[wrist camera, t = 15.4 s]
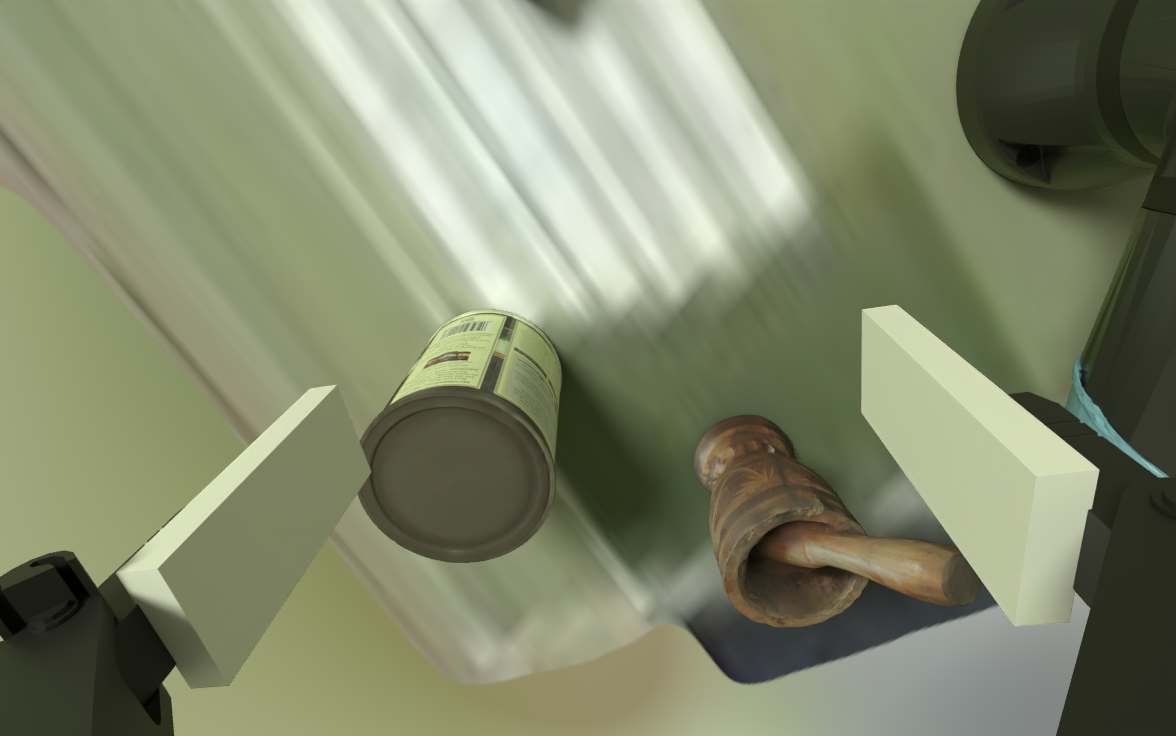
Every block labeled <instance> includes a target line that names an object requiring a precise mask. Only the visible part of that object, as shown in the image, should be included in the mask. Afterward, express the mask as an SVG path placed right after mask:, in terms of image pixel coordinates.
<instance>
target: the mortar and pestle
mask: <svg viewBox="0 0 1176 736" xmlns="http://www.w3.org/2000/svg"><path fill="white" fill-rule="evenodd" d="M694 469H695V472H696V474H697V477H698V479H699V482H700V483H701V485H702V486H703V487H704V488H705V489H706V490H707V491H708V492H709V493H710V494H711V502H710V507H709V519H708V520H709V530H710V536H711V541H712V545H713V549H714V553H715V556H716V559H717V562H718V566H719V570H720V573H721V576H722V580H723V586H724V590H725V592H726V593H727V595H728V598H729V600H730V601H731V602H732V603H733V605H734V606H735V607H736V609H737V610H738V611H740V612H741V613H742V614H743V615H745V616H746V617H748V618H750V619H752V620H753V621H755V622H758V623H766V624H769V625H771V626H773V627H803V626H809V625H812V624H816V623H820V622H823V621H825V620H827V619H829V618H830V617H832V616H834V615H836V614H839V613H841V612H843V611H844V610H845V609H846V608H847V607H849V606H850V605H851V604H852V603H853V602H854V600H855V599H856V598H858V597H859V596H860V595H861V593H862V590H863V589H864V587H865V586H866V585H867V584H868V580H869V579H871V580H873V581H875V582H877V583H880V584H882V585H884V586H886V587H889V588H891V589H893V590H896V591H898V592H900V593H903V594H905V595H908V596H911V597H913V598H916V599H919V600H922V601H926V602H929V603H933V604H938V605H942V606H955V605H958V606H965V605H968V604H970V603H972V602H973V601H974V600H975V598H976V597H977V595H978V593H979V590H980V582H981V579H980V578H979V577H978V575H977V574H976V572H975V571H974V570H973V568H972V567H971V565H970V564H969V562H968V561H967V560H966V558H965V557H964V555H963V554H962V553H961V551H960V550H959V548H956V547H953V546H950V545H945V544H939V543H935V542H930V541H924V540H918V539H909V538H888V537H872V536H867V535H866V533H865V531H864V530H863V529H862V527H861V526H860V525H859V523H858V522H857V521H856V519H855V518H854V517H853V516H852V514H851V513H850V512H849V511H848V509H847V508H846V507H845V505H844V504H843V502H842V501H841V499H840V498H839V496H838V495H837V493H836V492H835V491H834V490H833V489H832V488H831V487H830V486H829V485H828V484H827V483H826V482H825V481H824V480H823V479H822V478H821V477H820V476H819V475H818V474H816V473H815V472H814V471H812V470H811V469H810V468H808V467H806V466H805V465H803V464H801V463H799V462H797V461H796V460H795V459H793V449H792V446H791V443H790V441H789V439H788V438H787V436H786V435H785V434H784V433H783V432H782V431H781V430H780V429H779V427H778V426H777V425H775V424H774V423H773V422H771V421H769V420H767V419H766V418H763V417H761V416H757V415H741V416H735V417H732V418H729V419H726V420H723V421H721V422H719V423H717V424H715V425H714V426H712V427H711V428H710V429H709V430H708V431H707V432H706V433H705V434H704V435H703V437H702V438H701V440H700V442H699V444H698V446H697V449H696V452H695V456H694Z"/></svg>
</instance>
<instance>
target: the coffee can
mask: <svg viewBox="0 0 1176 736" xmlns="http://www.w3.org/2000/svg"><path fill="white" fill-rule="evenodd" d="M561 386H562V370H561V365H560V361H559V358H558V355H557V353H556V351H555V349H554V347H553V345H552V343H551V342H550V341H549V339H548V338H547V337H546V335H545V334H544V333H543V332H542V331H541V330H540V329H538V328H537V327H536V326H535V325H534V324H532V323H531V322H529V321H528V320H526V319H524V318H522V317H520V316H518V315H515V314H513V313H509V312H506V311H501V310H495V309H487V310H476V311H471V312H467V313H464V314H461V315H459V316H457V317H455V318H453V319H451V320H449V321H448V322H446V323H445V324H444V325H442V326H441V327H440V328H439V329H438V330H437V331H436V332H435V333H434V335H433V336H432V337H431V339H430V341H429V342H428V344H427V346H426V348H425V350H424V351H423V352H422V354H421V356H420V357H419V358H418V360H417V361H416V363H415V364H414V366H413V367H412V369H411V370H410V372H409V373H408V375H407V376H406V378H405V379H404V381H403V382H402V383H401V385H400V386H399V388H398V389H397V390H396V392H395V394H394V395H393V396H392V398H391V399H390V401H389V402H388V404H387V405H386V407H385V408H384V410H383V411H382V412H381V413H380V414H379V415H378V416H377V417H376V418H375V419H374V420H373V421H372V423H371V424H370V425H369V426H368V428H367V429H366V431H365V432H364V434H363V436H362V438H361V440H360V441H359V442H360V444H361V447H362V449H363V452H364V454H365V457H366V459H367V462H368V465H369V467H370V470H371V474H370V475H369V477H368V478H367V480H366V481H365V483H364V484H363V486H362V487H361V489H360V490H359V492H358V493H357V494H358V496H359V499H360V502H361V504H362V506H363V508H364V509H365V511H366V513H367V515H368V516H369V517H370V519H371V520H372V521H373V523H374V524H375V525H376V526H377V527H378V528H379V529H380V530H381V531H382V532H383V533H384V534H385V535H387V536H388V537H389V538H390V539H391V540H393V541H395V542H396V543H397V544H399V545H400V546H402V547H404V548H405V549H407V550H409V551H411V552H414V553H416V554H418V555H421V556H424V557H427V558H430V559H435V560H440V561H445V562H452V563H469V562H480V561H486V560H490V559H494V558H497V557H500V556H502V555H505V554H507V553H509V552H511V551H513V550H515V549H516V548H518V547H520V546H521V545H523V544H524V543H525V542H527V541H528V540H529V539H530V538H531V537H532V536H533V535H534V534H535V533H536V532H537V531H538V530H539V529H540V527H541V526H542V525H543V523H544V521H545V520H546V518H547V516H548V514H549V512H550V509H551V507H552V504H553V501H554V496H555V485H556V474H555V467H554V466H555V452H556V437H557V425H558V411H559V397H560V391H561Z"/></svg>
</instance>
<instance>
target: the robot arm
mask: <svg viewBox="0 0 1176 736" xmlns="http://www.w3.org/2000/svg"><path fill="white" fill-rule="evenodd" d="M956 94H957V105H958V111H959V116H960V120H961V123H962V126H963V129H964V132H965V134H966V136H967V139H968V140H969V142H970V144H971V146H972V147H973V149H974V150H975V152H976V153H977V154H978V156H979V157H980V158H981V159H982V160H983V161H984V162H985V163H986V164H987V165H988V166H989V167H990V168H992V169H993V170H994V171H996V172H997V173H999V174H1000V175H1002V176H1004V177H1006V178H1008V179H1010V180H1012V181H1015V182H1018V183H1021V184H1025V185H1029V186H1035V187H1042V188H1049V189H1056V190H1085V189H1094V188H1100V187H1105V186H1109V185H1113V184H1116V183H1120V182H1124V181H1128V180H1131V179H1135V178H1139V177H1143V176H1146V175H1150V174H1154V173H1155V175H1154V177H1153V180H1152V182H1151V185H1150V188H1149V190H1148V193H1147V195H1146V198H1145V200H1144V203H1143V205H1142V206H1141V209H1140V211H1139V214H1138V216H1137V219H1136V222H1135V224H1134V227H1133V229H1132V232H1131V234H1130V237H1129V240H1128V242H1127V245H1126V247H1125V250H1124V252H1123V255H1122V258H1121V260H1120V263H1119V265H1118V268H1117V270H1116V273H1115V275H1114V278H1113V280H1112V283H1111V285H1110V287H1109V290H1108V292H1107V295H1106V297H1105V300H1104V302H1103V305H1102V307H1101V309H1100V312H1099V314H1098V317H1097V319H1096V322H1095V324H1094V327H1093V329H1092V331H1091V334H1090V336H1089V339H1088V341H1087V344H1086V346H1085V349H1084V351H1083V352H1082V353H1081V355H1080V356H1079V357H1078V358H1077V359H1076V361H1075V363H1074V366H1073V370H1072V380H1073V385H1072V388H1071V391H1070V394H1069V397H1068V400H1067V404H1066V407H1065V408H1064V407H1062V406H1061V405H1060V404H1058V403H1055V402H1053V401H1050V400H1048V399H1045V398H1043V397H1040V396H1037V395H1035V394H1032V393H1030V392H1024V393H1016V394H1006V393H1005V392H1003V391H1002V390H1001V389H1000V388H998V387H997V386H996V385H995V384H994V383H992V382H991V381H990V380H989V379H987V378H986V377H985V376H984V375H982V374H981V373H980V372H979V371H978V370H976V369H975V368H974V367H973V366H971V365H970V364H969V363H968V362H966V361H965V360H964V359H963V358H962V357H960V356H959V355H958V354H957V353H955V352H954V351H953V350H952V349H951V348H949V347H948V346H947V345H946V344H944V343H943V342H942V341H941V340H939V339H938V338H937V337H936V336H935V335H933V334H932V333H931V332H930V331H928V330H927V329H926V328H925V327H923V326H922V325H921V324H920V323H919V322H917V321H916V320H915V319H914V318H912V317H911V316H910V315H909V314H908V313H906V312H905V311H904V310H903V309H901V308H900V307H899V306H898V305H891V306H884V307H877V308H870V309H863V310H862V399H861V413H862V414H863V415H864V417H865V418H866V420H867V421H868V422H869V424H870V425H871V427H872V428H873V429H874V431H875V432H876V434H877V435H878V436H879V438H880V439H881V441H882V442H883V443H884V445H885V446H886V448H887V449H888V450H889V452H890V453H891V455H892V456H893V457H894V459H895V460H896V462H897V463H898V464H899V466H900V467H901V469H902V470H903V471H904V473H905V474H906V476H907V477H908V478H909V480H910V481H911V483H912V484H913V485H914V487H915V488H916V490H917V491H918V492H919V494H920V495H921V497H922V498H923V499H924V501H925V502H926V504H927V505H928V506H929V508H930V509H931V511H932V512H933V513H934V515H935V516H936V518H937V519H938V520H939V522H940V523H941V525H942V526H943V527H944V529H945V530H946V532H947V533H948V534H949V536H950V537H951V539H952V540H953V541H954V543H955V544H956V546H957V547H958V548H959V550H960V551H961V553H962V554H963V555H964V557H965V558H966V560H967V561H968V562H969V564H970V565H971V567H972V568H973V570H974V571H975V572H976V574H977V575H978V577H979V578H980V579H981V581H982V582H983V584H984V585H985V586H986V588H987V589H988V591H989V592H990V593H991V595H992V596H993V598H994V599H995V600H996V602H997V603H998V605H999V606H1000V607H1001V609H1002V610H1003V611H1004V613H1005V614H1006V616H1007V617H1008V619H1009V620H1010V621H1011V623H1012V624H1013V625H1014V626H1028V625H1040V624H1054V623H1068V622H1069V621H1070V616H1071V610H1072V605H1073V601H1074V596H1075V592H1076V593H1077V594H1078V595H1079V596H1080V597H1081V598H1082V599H1083V601H1084V602H1085V603H1086V604H1087V605H1088V606H1089V607H1090V608H1091V609H1090V613H1089V617H1088V620H1087V624H1086V627H1085V631H1084V635H1083V639H1082V643H1081V646H1080V649H1079V654H1078V657H1077V661H1076V664H1075V668H1074V672H1073V675H1072V679H1071V683H1070V687H1069V690H1068V694H1067V697H1066V701H1065V705H1064V709H1063V712H1062V716H1061V720H1060V723H1059V727H1058V731H1057V734H1056V736H1176V0H981V1H980V3H979V5H978V7H977V9H976V11H975V13H974V15H973V17H972V19H971V22H970V24H969V27H968V29H967V32H966V35H965V38H964V41H963V44H962V48H961V52H960V57H959V62H958V69H957V81H956ZM370 474H371V470H370V467H369V465H368V462H367V459H366V457H365V454H364V452H363V449H362V447H361V444H360V442H359V439H358V436H357V434H356V431H355V429H354V426H353V424H352V421H351V419H350V416H349V413H348V411H347V408H346V406H345V403H344V401H343V398H342V396H341V393H340V390H339V388H338V385H332V386H325V387H318V388H311V389H309V390H308V391H307V392H306V393H305V394H304V395H303V396H302V397H301V398H300V399H299V400H298V401H297V402H295V403H294V404H293V405H292V406H291V407H290V408H289V409H288V410H287V411H286V412H285V413H284V414H283V415H282V416H281V417H280V418H279V419H278V420H276V421H275V422H274V423H273V424H272V425H271V426H270V427H269V428H268V429H267V430H266V431H265V432H264V433H263V434H262V435H261V436H260V437H259V438H257V439H256V440H255V441H254V442H253V443H252V444H251V445H250V446H249V447H248V448H247V449H246V450H245V451H244V452H243V453H242V454H241V455H240V456H238V458H237V459H235V460H234V461H233V462H232V463H231V464H230V465H229V466H228V467H227V468H226V469H225V470H224V471H223V472H222V473H221V474H219V475H218V476H217V477H216V478H215V479H214V480H213V481H212V482H211V483H210V484H209V485H208V486H207V487H206V488H205V489H204V490H203V491H202V492H200V493H199V494H198V495H197V496H196V497H195V498H194V499H193V500H192V501H191V502H190V503H189V504H188V505H187V506H186V507H184V508H182V509H181V510H180V511H179V512H178V513H177V514H175V516H173V517H172V518H171V519H170V520H169V521H168V522H167V523H166V524H165V525H164V526H163V527H162V530H159V531H157V533H155V534H154V535H153V536H152V537H151V538H150V539H149V540H148V541H147V542H148V543H147V544H145V545H143V546H142V547H140V548H139V549H138V550H137V551H136V552H135V553H134V554H133V555H132V556H131V557H130V558H129V559H128V560H127V561H126V562H125V563H124V564H122V566H120V567H119V568H118V569H117V570H116V571H115V572H114V573H113V574H112V575H111V576H110V577H109V578H108V579H107V580H106V581H104V582H103V583H102V584H101V585H100V586H99V587H98V588H97V587H96V585H95V584H94V582H93V581H92V579H91V578H90V576H89V575H88V573H87V572H86V571H85V569H84V567H83V566H82V564H81V563H80V562H79V560H78V559H77V557H76V556H75V554H74V553H73V552H69V551H59V552H53V553H49V554H46V555H43V556H41V557H38V558H35V559H32V560H30V561H28V562H26V563H24V564H22V565H20V566H18V567H16V568H14V569H12V570H10V571H9V572H7V573H6V574H4V575H3V576H1V577H0V636H1V637H2V638H3V640H4V641H1V642H0V736H174V730H173V716H172V704H171V697H170V695H169V693H168V692H167V690H166V689H165V687H164V686H163V684H162V682H163V681H164V679H165V678H166V677H167V676H168V674H169V673H170V672H171V671H172V669H173V668H174V667H175V665H176V667H177V668H178V670H179V671H180V673H181V674H182V676H183V677H184V679H185V681H186V682H187V684H188V685H189V687H190V688H191V689H193V688H206V687H218V686H229V685H230V683H231V682H232V681H233V679H234V677H235V676H236V674H237V673H238V672H239V670H240V669H241V667H242V666H243V664H244V662H245V661H246V659H247V658H248V657H249V655H250V654H251V652H252V650H253V649H254V648H255V646H256V645H257V643H258V642H259V640H260V639H261V637H262V636H263V634H264V633H265V631H266V630H267V628H268V627H269V625H270V624H271V622H272V621H273V619H274V617H275V616H276V615H277V613H278V612H279V610H280V609H281V607H282V606H283V604H284V603H285V601H286V600H287V598H288V597H289V595H290V593H291V592H292V590H293V589H294V588H295V586H296V585H297V583H298V582H299V580H300V579H301V577H302V576H303V574H304V573H305V571H306V570H307V568H308V567H309V565H310V563H311V562H312V561H313V559H314V558H315V556H316V555H317V553H318V552H319V550H320V549H321V547H322V546H323V544H324V543H325V541H326V540H327V538H328V537H329V535H330V534H331V532H332V531H333V529H334V528H335V526H336V525H337V523H338V522H339V520H340V519H341V517H342V516H343V514H344V513H345V511H346V510H347V508H348V507H349V505H350V504H351V502H352V501H353V499H354V498H355V496H356V495H357V493H358V492H359V490H360V489H361V487H362V486H363V484H364V483H365V481H366V480H367V478H368V477H369V475H370Z"/></svg>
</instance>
